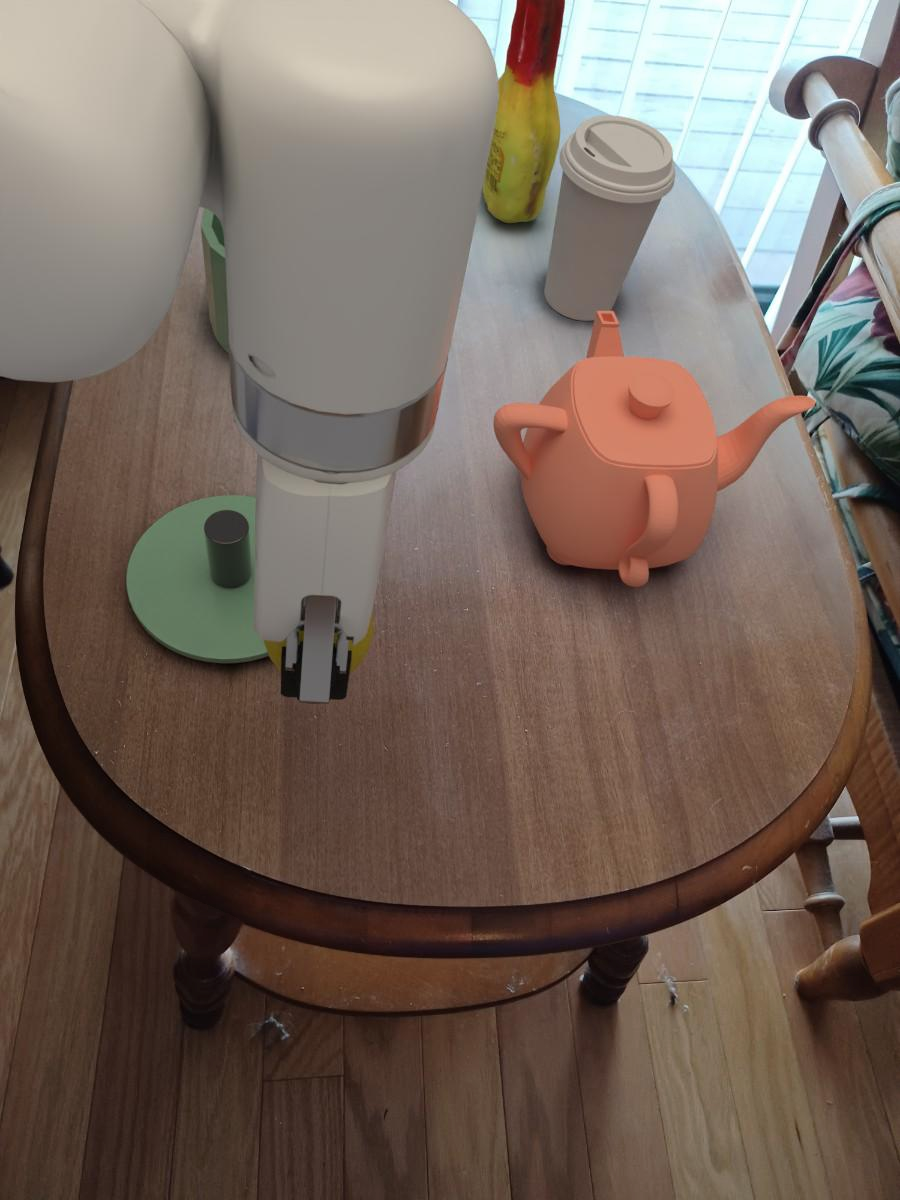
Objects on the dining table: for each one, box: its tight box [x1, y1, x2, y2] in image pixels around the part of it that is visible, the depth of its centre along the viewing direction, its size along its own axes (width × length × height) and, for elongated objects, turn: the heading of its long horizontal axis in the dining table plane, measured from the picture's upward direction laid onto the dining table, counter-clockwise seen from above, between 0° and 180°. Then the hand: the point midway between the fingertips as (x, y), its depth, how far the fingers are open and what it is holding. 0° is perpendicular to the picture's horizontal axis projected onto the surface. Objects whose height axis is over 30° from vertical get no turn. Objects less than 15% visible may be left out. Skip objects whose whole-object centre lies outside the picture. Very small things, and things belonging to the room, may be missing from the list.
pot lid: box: [125, 494, 269, 664], centre depth 63 cm, size 14×14×6 cm
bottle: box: [482, 0, 566, 224], centre depth 86 cm, size 12×6×20 cm, turn 6°
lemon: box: [264, 611, 374, 676], centre depth 48 cm, size 6×6×8 cm
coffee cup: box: [543, 115, 676, 322], centre depth 81 cm, size 10×10×15 cm
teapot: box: [492, 310, 816, 588], centre depth 68 cm, size 16×17×14 cm
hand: (317, 637), depth 49 cm, fingers closed on lemon, 5 cm apart
